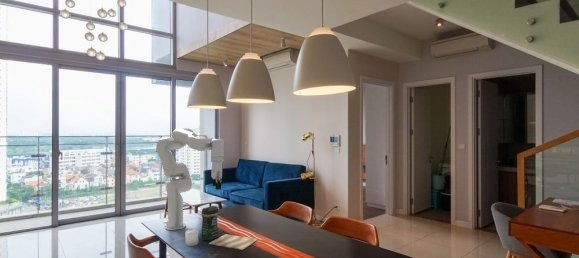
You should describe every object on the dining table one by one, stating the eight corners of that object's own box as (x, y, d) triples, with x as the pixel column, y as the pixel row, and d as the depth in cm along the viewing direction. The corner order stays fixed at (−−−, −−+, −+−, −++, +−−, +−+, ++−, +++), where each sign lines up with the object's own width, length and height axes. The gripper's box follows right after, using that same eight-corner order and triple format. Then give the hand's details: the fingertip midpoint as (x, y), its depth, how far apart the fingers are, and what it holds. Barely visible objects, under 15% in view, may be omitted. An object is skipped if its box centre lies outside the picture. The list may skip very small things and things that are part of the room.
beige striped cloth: (209, 244, 172) (209, 243, 172) (225, 235, 187) (225, 234, 187) (242, 249, 164) (242, 248, 164) (257, 240, 178) (257, 239, 178)
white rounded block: (182, 244, 171) (182, 232, 172) (191, 240, 178) (191, 228, 178) (192, 246, 169) (192, 233, 169) (201, 242, 175) (200, 230, 175)
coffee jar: (209, 241, 176) (209, 209, 176) (199, 239, 180) (198, 207, 180) (220, 236, 184) (220, 205, 184) (210, 234, 188) (210, 204, 188)
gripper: (208, 158, 192) (208, 185, 192) (213, 161, 176) (212, 190, 176) (220, 157, 195) (220, 184, 195) (226, 160, 179) (226, 190, 179)
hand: (216, 187), depth 186 cm, fingers open, 9 cm apart
